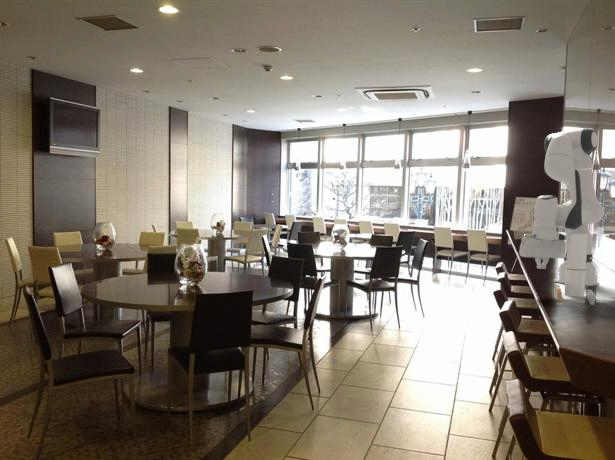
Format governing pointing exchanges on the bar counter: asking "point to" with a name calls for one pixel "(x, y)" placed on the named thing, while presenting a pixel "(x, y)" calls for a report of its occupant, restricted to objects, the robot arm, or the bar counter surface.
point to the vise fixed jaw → (591, 297)
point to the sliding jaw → (558, 292)
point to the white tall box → (576, 264)
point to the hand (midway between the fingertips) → (541, 268)
